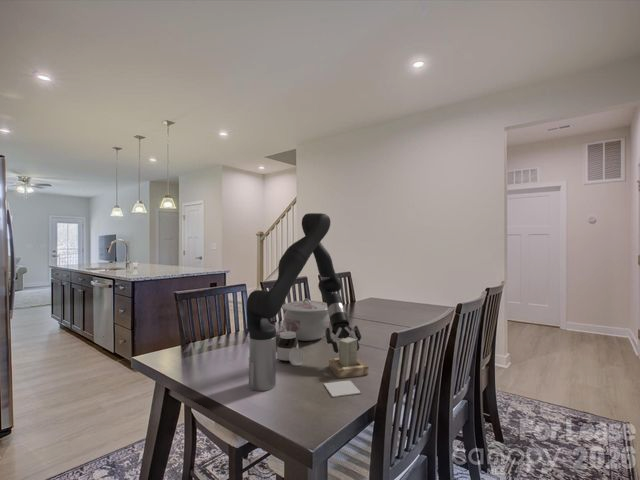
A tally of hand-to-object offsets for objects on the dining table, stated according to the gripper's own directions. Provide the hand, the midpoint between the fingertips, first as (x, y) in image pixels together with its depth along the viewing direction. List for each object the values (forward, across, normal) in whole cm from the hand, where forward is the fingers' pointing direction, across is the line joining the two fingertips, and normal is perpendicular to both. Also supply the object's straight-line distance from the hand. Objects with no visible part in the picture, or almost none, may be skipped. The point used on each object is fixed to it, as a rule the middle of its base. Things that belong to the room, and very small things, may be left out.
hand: (347, 351), depth 131 cm
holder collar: (+6, 0, +5) cm, 7 cm away
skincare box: (+6, 0, +5) cm, 8 cm away
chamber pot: (-28, -5, +39) cm, 48 cm away
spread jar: (-5, -20, +15) cm, 26 cm away
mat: (+16, -8, -6) cm, 19 cm away
